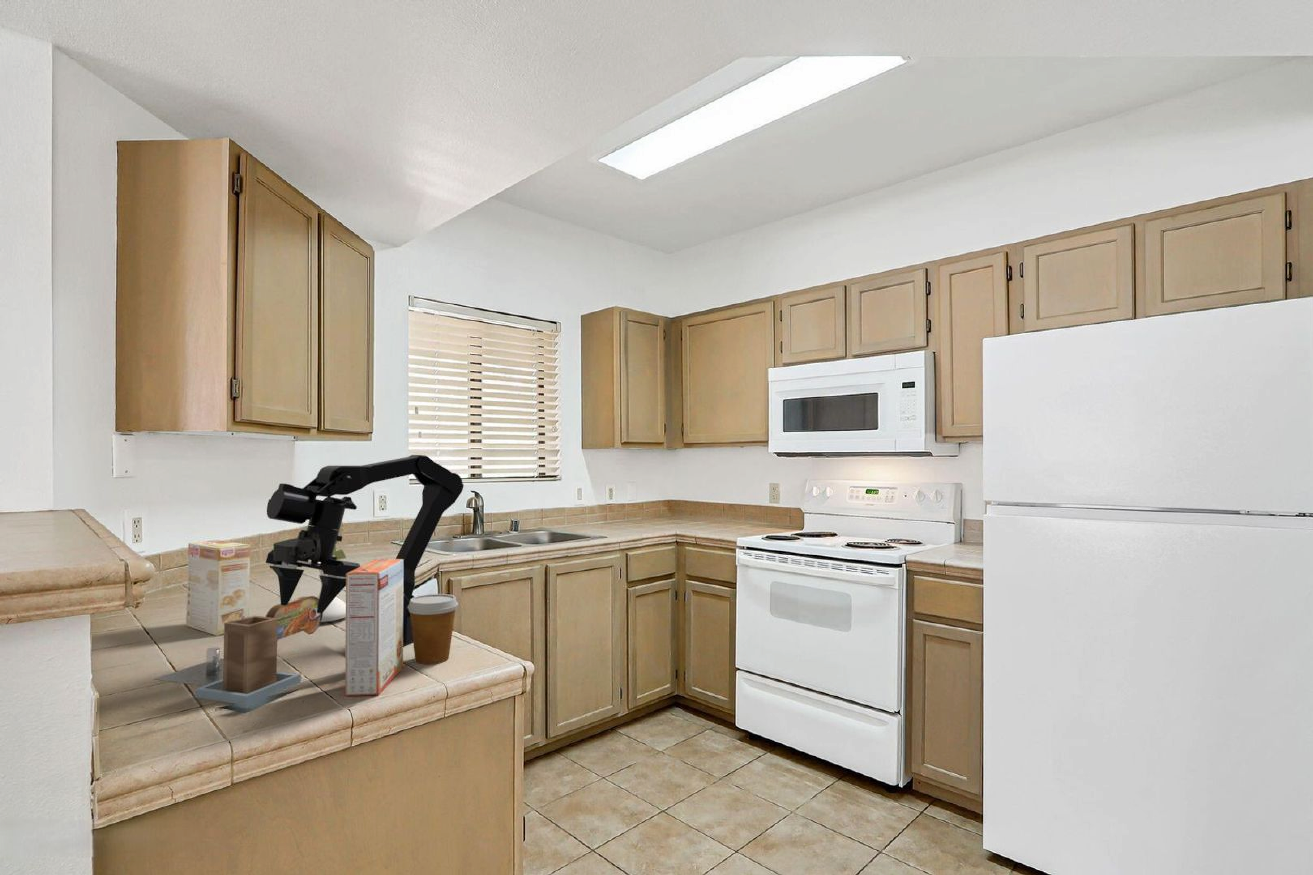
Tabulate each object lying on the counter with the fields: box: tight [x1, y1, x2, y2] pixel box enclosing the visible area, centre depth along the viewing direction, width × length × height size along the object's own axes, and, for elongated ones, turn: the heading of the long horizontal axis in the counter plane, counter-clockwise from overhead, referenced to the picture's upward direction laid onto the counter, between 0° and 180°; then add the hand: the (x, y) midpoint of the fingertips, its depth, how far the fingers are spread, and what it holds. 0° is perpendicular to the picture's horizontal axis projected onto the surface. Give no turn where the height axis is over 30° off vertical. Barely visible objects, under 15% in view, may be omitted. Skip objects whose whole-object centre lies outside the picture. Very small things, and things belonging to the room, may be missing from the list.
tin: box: [265, 595, 323, 642], centre depth 143 cm, size 15×3×8 cm, turn 168°
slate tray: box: [194, 671, 302, 713], centre depth 108 cm, size 11×11×2 cm
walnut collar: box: [222, 615, 278, 694], centre depth 108 cm, size 5×5×12 cm
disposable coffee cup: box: [407, 593, 459, 665], centre depth 129 cm, size 10×10×12 cm
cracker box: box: [344, 558, 404, 697], centre depth 116 cm, size 14×6×21 cm, turn 5°
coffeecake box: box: [185, 539, 251, 637], centre depth 150 cm, size 15×7×20 cm, turn 58°
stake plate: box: [154, 646, 224, 687], centre depth 117 cm, size 12×12×5 cm
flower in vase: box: [316, 521, 347, 623], centre depth 158 cm, size 13×11×25 cm
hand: (301, 609), depth 124 cm, fingers open, 9 cm apart
